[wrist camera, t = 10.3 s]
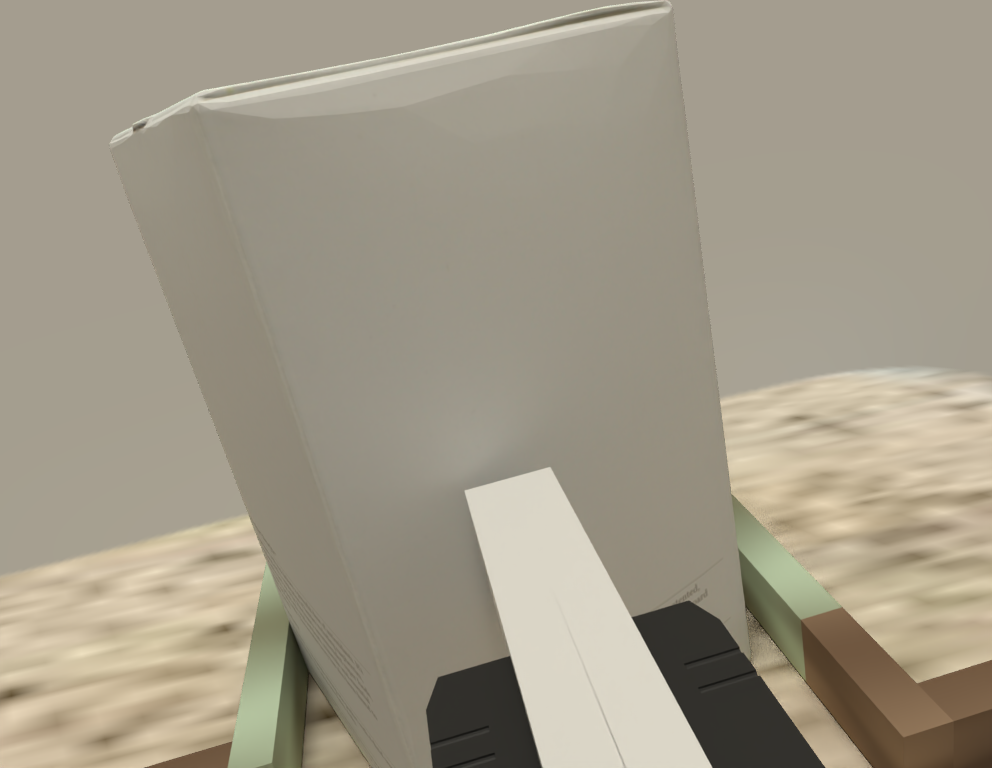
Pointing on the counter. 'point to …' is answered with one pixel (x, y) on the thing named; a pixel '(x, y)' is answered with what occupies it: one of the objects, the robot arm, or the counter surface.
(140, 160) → the supplement box
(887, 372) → the counter surface
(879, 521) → the counter surface
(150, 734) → the counter surface
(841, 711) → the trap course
